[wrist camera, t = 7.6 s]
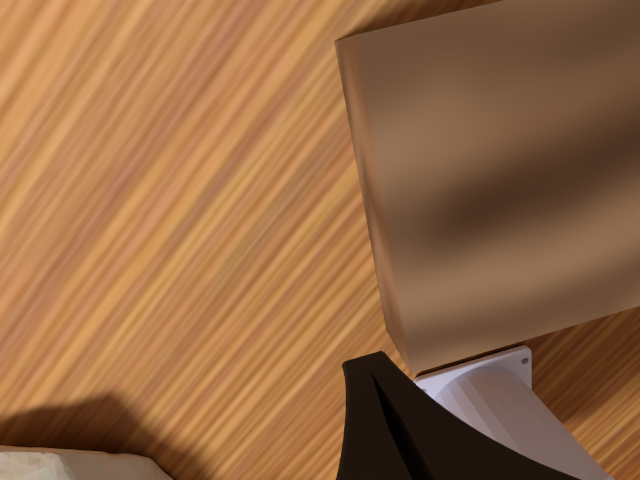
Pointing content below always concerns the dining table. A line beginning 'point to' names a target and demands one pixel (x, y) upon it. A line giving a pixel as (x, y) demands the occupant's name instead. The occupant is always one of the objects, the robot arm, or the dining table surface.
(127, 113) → the dining table surface
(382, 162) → the dark wooden board
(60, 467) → the crumpled grey cloth
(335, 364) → the dining table surface
